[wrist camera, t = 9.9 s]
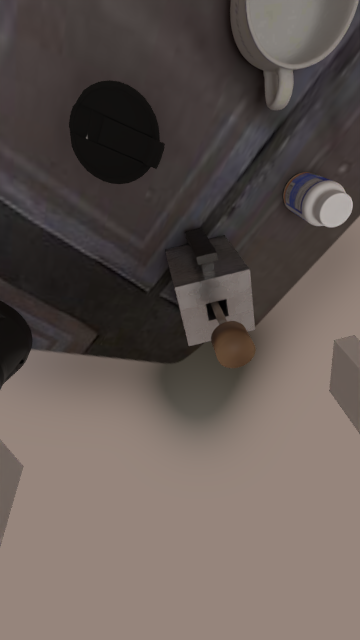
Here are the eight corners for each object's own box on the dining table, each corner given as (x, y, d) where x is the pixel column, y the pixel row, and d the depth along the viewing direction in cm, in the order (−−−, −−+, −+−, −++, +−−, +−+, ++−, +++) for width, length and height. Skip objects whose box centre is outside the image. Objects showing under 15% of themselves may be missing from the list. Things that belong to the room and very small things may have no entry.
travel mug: (139, 162, 41) (147, 200, 24) (86, 140, 39) (56, 165, 22) (156, 107, 38) (179, 108, 21) (100, 80, 36) (77, 58, 19)
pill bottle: (325, 192, 46) (367, 211, 38) (293, 219, 48) (327, 242, 40) (307, 162, 43) (348, 175, 35) (274, 191, 45) (306, 210, 37)
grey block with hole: (177, 300, 53) (188, 346, 43) (161, 234, 46) (170, 269, 36) (230, 287, 53) (255, 329, 43) (222, 219, 46) (248, 250, 36)
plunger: (185, 300, 50) (209, 383, 35) (176, 261, 46) (200, 336, 31) (226, 290, 50) (269, 368, 35) (221, 250, 46) (266, 319, 31)
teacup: (241, -81, 31) (273, -132, 24) (339, -38, 33) (391, -73, 27) (203, 94, 38) (219, 91, 31) (285, 118, 40) (316, 120, 34)
